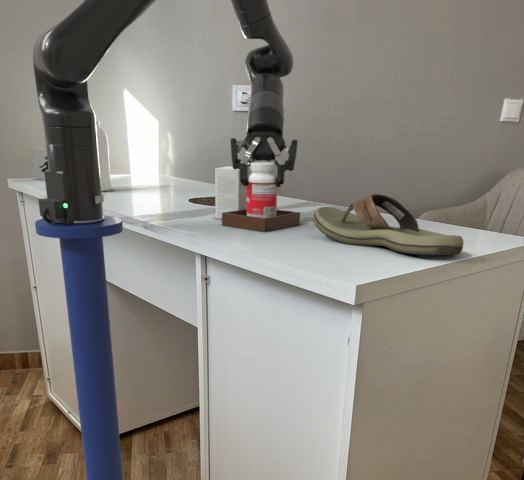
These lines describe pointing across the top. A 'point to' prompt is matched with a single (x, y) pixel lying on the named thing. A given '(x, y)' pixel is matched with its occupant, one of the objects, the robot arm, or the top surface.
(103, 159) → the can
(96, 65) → the robot arm
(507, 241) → the top surface
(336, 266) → the top surface
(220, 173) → the small box
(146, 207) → the top surface
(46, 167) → the icon cube
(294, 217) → the tray
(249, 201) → the pill bottle
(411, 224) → the flip flop
